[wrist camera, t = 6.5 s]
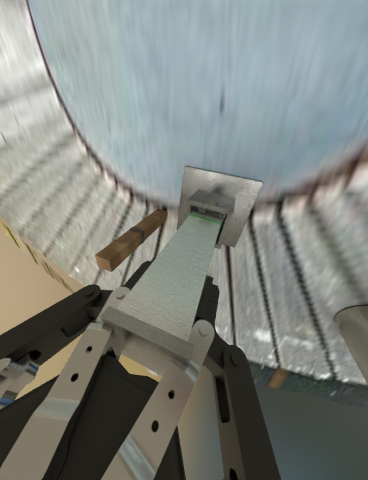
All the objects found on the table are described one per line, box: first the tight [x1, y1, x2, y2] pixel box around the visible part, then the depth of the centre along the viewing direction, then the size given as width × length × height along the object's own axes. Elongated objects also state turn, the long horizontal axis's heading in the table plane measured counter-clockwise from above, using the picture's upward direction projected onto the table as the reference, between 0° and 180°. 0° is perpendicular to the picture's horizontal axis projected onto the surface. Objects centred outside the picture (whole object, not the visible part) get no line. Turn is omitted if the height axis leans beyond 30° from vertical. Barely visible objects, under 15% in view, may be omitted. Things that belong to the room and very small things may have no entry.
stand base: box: [177, 166, 263, 249], centre depth 23 cm, size 12×12×7 cm
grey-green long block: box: [100, 210, 222, 375], centre depth 14 cm, size 5×5×16 cm
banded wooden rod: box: [95, 209, 167, 272], centre depth 24 cm, size 2×2×16 cm
